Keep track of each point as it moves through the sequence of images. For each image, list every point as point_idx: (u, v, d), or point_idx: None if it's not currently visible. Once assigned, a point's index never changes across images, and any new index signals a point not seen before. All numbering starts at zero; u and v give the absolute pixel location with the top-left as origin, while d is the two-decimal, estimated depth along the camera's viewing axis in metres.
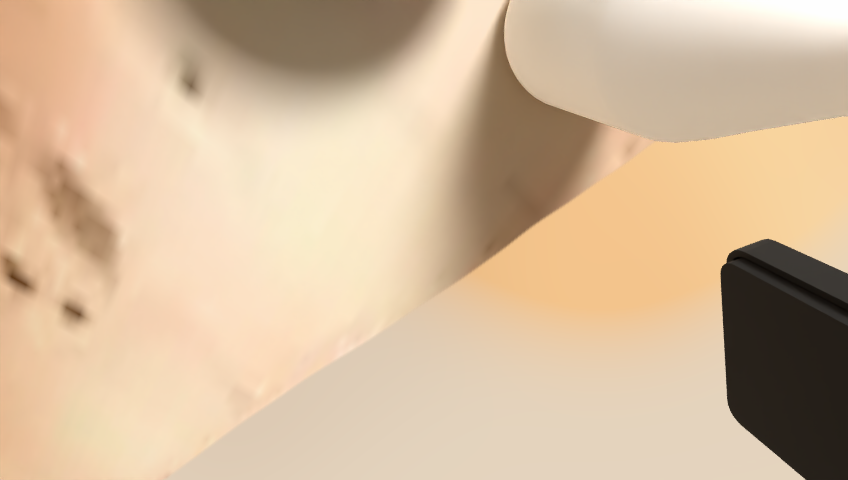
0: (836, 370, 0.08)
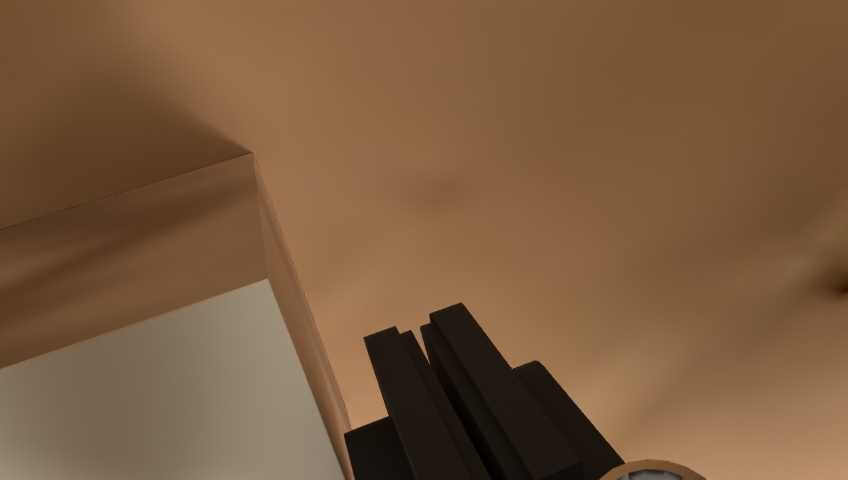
0: (472, 439, 0.08)
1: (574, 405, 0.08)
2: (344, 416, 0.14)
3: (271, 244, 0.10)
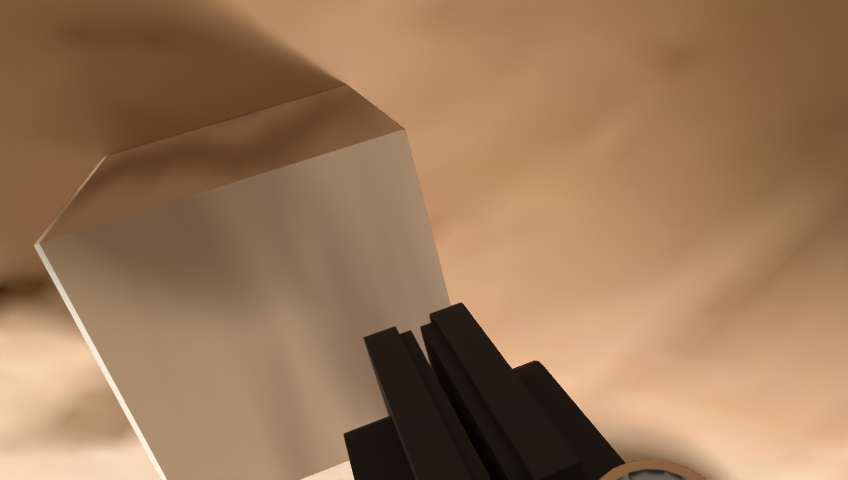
0: (472, 438, 0.08)
1: (574, 405, 0.08)
2: None
3: (189, 225, 0.12)
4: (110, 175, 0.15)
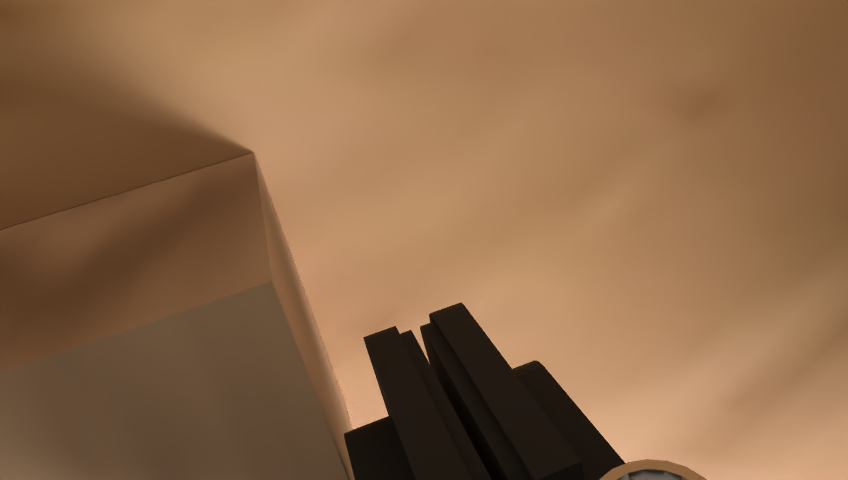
0: (472, 438, 0.08)
1: (574, 405, 0.08)
2: None
3: None
4: None
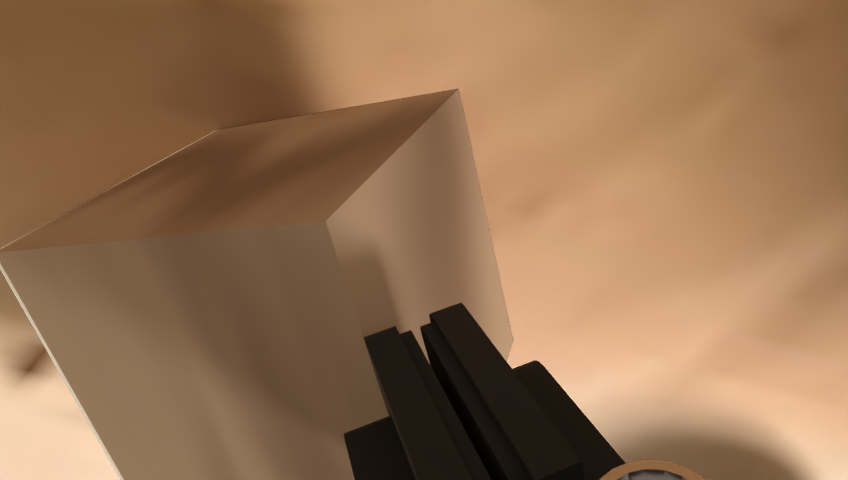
0: (471, 438, 0.08)
1: (574, 405, 0.08)
2: None
3: (108, 270, 0.11)
4: (166, 165, 0.15)
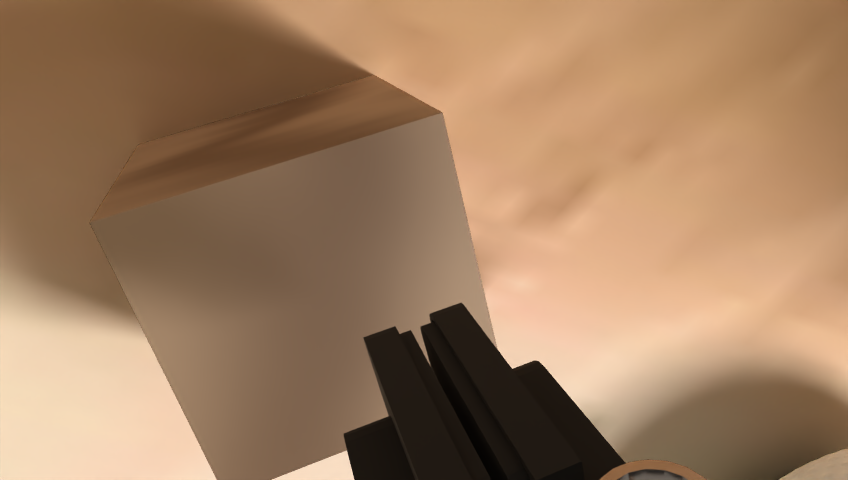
0: (472, 438, 0.08)
1: (574, 405, 0.08)
2: None
3: None
4: (283, 105, 0.18)
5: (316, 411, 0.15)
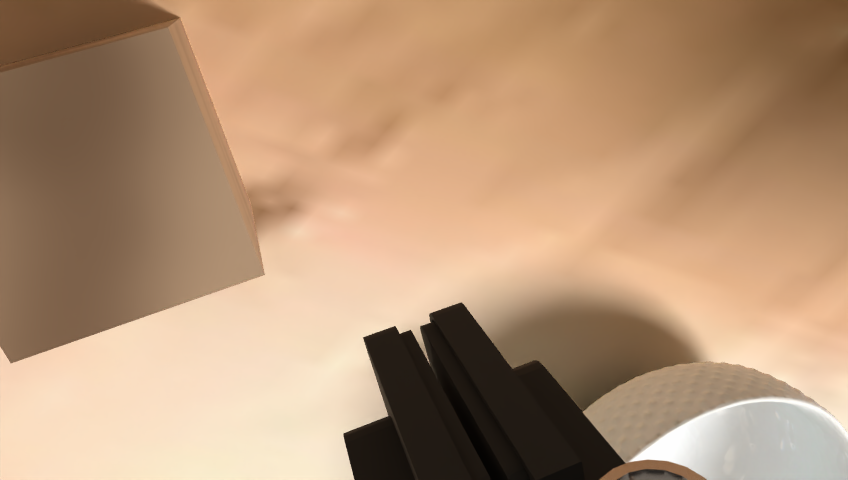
0: (472, 438, 0.08)
1: (574, 405, 0.08)
2: None
3: None
4: (92, 42, 0.21)
5: (86, 288, 0.17)
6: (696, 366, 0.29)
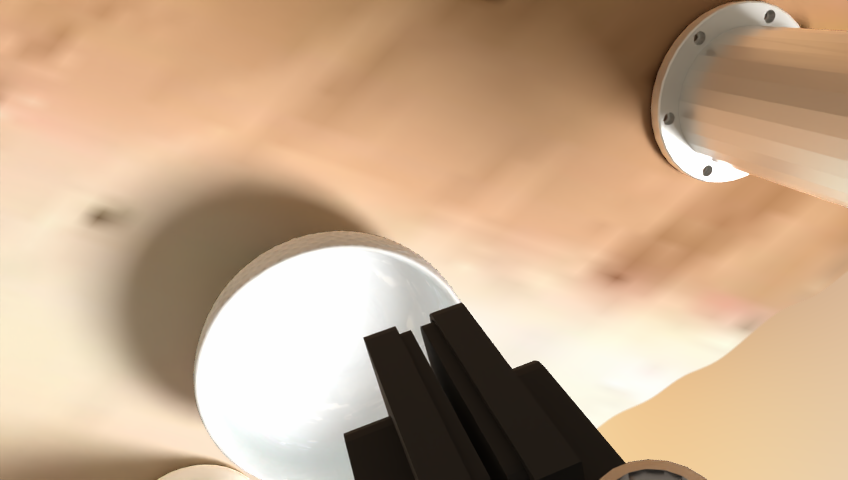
0: (472, 438, 0.08)
1: (574, 405, 0.08)
2: None
3: None
4: None
5: None
6: None
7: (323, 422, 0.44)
